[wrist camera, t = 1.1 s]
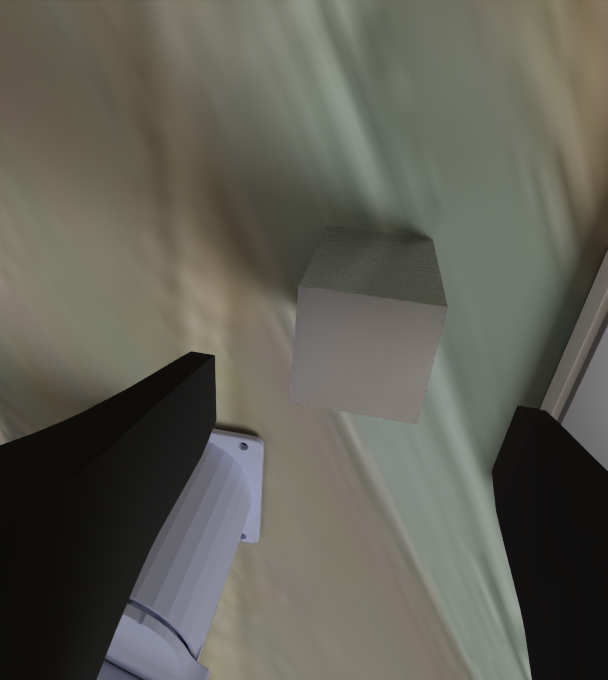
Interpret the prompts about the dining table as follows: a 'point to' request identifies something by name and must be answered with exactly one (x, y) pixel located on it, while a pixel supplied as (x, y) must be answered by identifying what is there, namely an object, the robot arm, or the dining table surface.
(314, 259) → the block
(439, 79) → the dining table surface
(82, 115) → the dining table surface
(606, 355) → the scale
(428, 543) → the dining table surface
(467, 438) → the dining table surface
